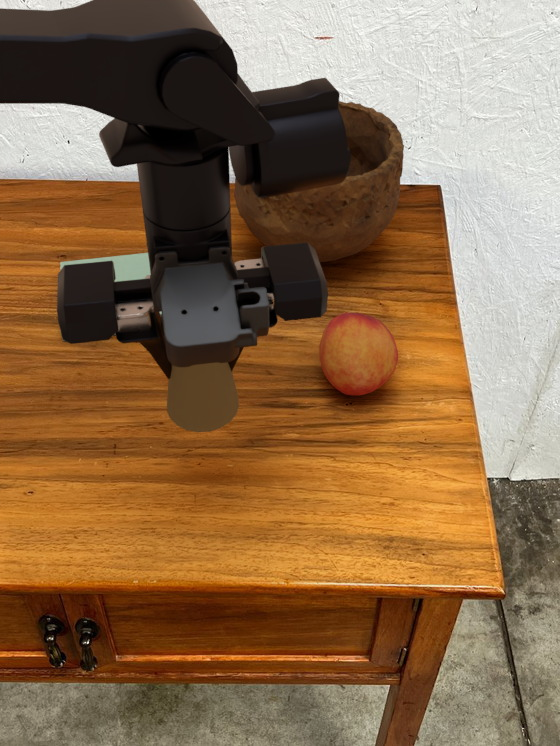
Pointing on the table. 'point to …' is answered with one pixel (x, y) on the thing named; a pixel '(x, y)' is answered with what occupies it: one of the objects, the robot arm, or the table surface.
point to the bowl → (337, 194)
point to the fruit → (357, 353)
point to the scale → (122, 266)
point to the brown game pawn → (202, 396)
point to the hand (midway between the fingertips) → (199, 371)
